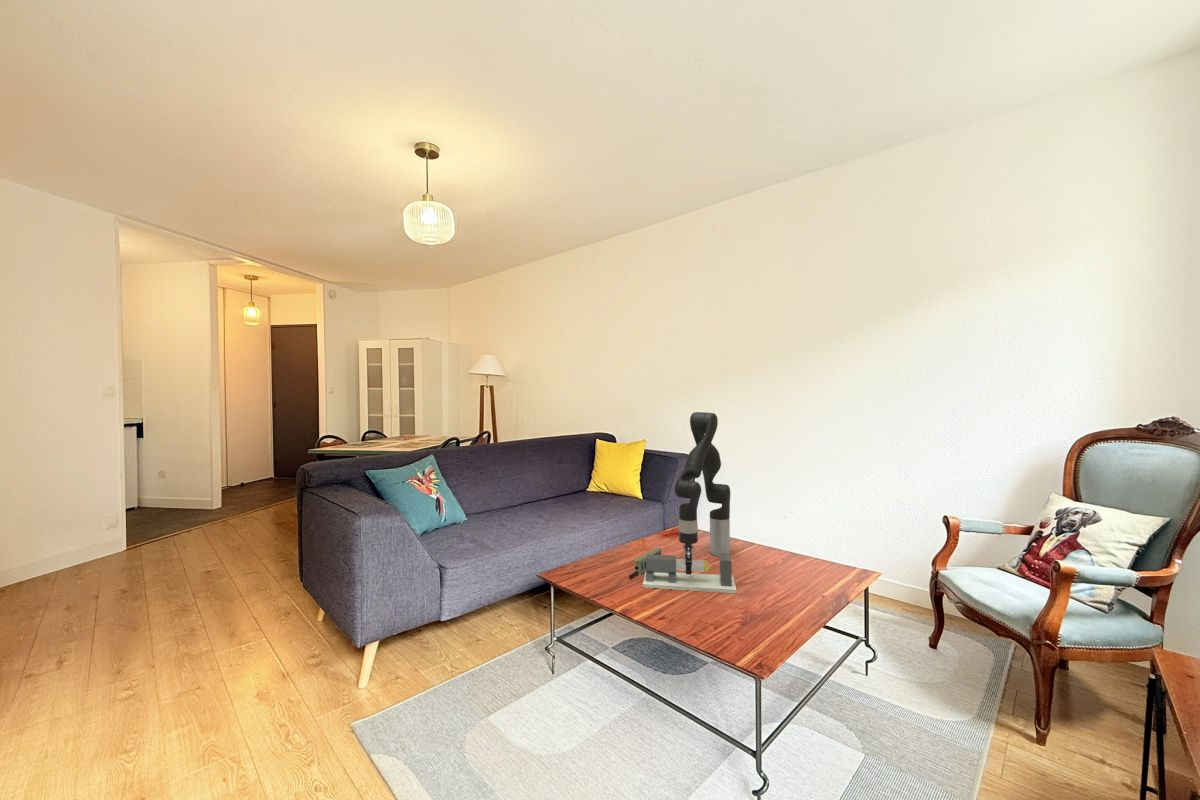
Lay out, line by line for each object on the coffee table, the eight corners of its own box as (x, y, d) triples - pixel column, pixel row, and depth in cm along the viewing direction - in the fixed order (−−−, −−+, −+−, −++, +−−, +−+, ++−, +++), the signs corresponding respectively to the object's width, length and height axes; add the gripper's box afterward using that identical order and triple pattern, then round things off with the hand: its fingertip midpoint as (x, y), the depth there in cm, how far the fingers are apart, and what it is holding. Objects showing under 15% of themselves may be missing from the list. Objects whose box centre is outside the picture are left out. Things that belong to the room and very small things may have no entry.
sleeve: (647, 573, 200) (647, 553, 200) (676, 575, 198) (676, 554, 198) (645, 581, 192) (645, 559, 192) (676, 583, 190) (675, 561, 190)
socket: (719, 577, 195) (719, 553, 195) (729, 578, 194) (729, 553, 194) (721, 585, 187) (720, 560, 187) (731, 586, 186) (731, 560, 186)
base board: (645, 574, 203) (645, 570, 203) (732, 579, 197) (732, 575, 197) (642, 587, 189) (642, 584, 189) (736, 593, 183) (736, 589, 183)
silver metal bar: (649, 565, 197) (649, 557, 197) (708, 568, 193) (708, 560, 193) (648, 568, 194) (648, 560, 194) (709, 571, 190) (708, 563, 190)
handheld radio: (663, 562, 217) (633, 580, 197) (656, 561, 219) (627, 579, 199) (662, 548, 217) (633, 564, 197) (656, 547, 219) (626, 563, 199)
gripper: (698, 535, 185) (698, 579, 185) (697, 525, 199) (697, 566, 199) (678, 534, 186) (679, 578, 187) (679, 524, 200) (679, 565, 201)
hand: (688, 572), depth 193 cm, fingers closed on silver metal bar, 3 cm apart
